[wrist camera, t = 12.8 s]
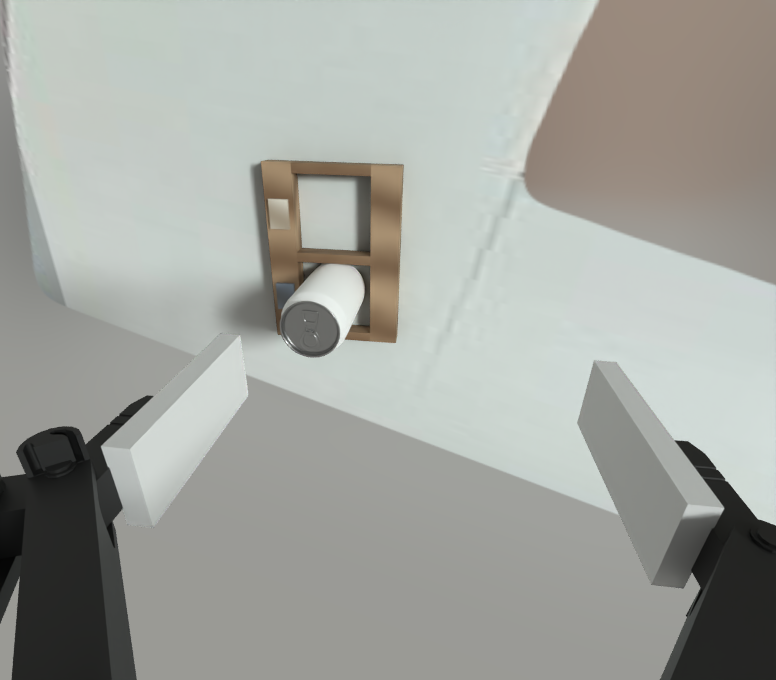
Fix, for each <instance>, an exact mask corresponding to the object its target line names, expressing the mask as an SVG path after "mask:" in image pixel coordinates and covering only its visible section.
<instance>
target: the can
mask: <svg viewBox="0 0 776 680" xmlns="http://www.w3.org/2000/svg"><path fill="white" fill-rule="evenodd" d="M364 295H365V284H364V281H363V278H362V276H361V275H360V273H359V272H358V271H357V270H356V269H355V268H354V267H353V266H351V265H348V264H330V263H323V264H321V265H320V266H319V267H317V268H316V269H315V270H314V271H313V272H312V274H311V275H310V276H309V277H308V278H307V279H306V280H305V281H304V282H303V283H302V285H301V286H300V287H299V288H298V289H297V290H296V291H295V292H294V294H293V295H292V296H291V297H290V298H289V299H288V301H287V302H286V304H285V305H284V307H283V310H282V314H281V319H280V332H281V335H282V338H283V340H284V341H285V343H286V344H287V345H288V346H289V347H290V348H291V349H292V350H293V351H295V352H296V353H298V354H300V355H303V356H306V357H321V356H325V355H327V354H329V353H330V352H331V351H333V350H334V349H336V348H337V347H338V346H340V345H341V343H342V342H343V341H344V339H345V338H346V336H347V334H348V332H349V330H350V327H351V325H352V323H353V321H354V319H355V317H356V315H357V312H358V310H359V308H360V306H361V304H362V301H363V299H364Z"/></svg>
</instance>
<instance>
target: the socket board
mask: <svg viewBox="0 0 776 680" xmlns="http://www.w3.org/2000/svg"><path fill="white" fill-rule="evenodd" d="M403 167H404V165H398V164H370V163H341V162H313V161H284V160H265V161H261V168H262V178H263V188H264V199H265V209H266V219H267V230H268V240H269V250H270V261H271V271H272V281H273V292H274V302H275V312H276V323H277V333H278V335H281V332H280V319H281V314H282V310H283V307H284V305H285V304H286V302H287V301H288V299H289V298H290V297H291V296H292V295H293V294H294V292H295V291H296V290H297V289H298V288H299V287H300V286H301V285H302V283H303V282H304V272H303V262H312V263H330V264H348V265H366V266H370V326H361V325H351V327H350V330H349V332H348V334H347V336H346V338H345V339H346V340H360V341H374V342H388V343H396V339H397V327H398V300H399V274H400V247H401V220H402V194H403ZM297 173H299V174H325V175H352V176H371V247H370V252H369V251H350V250H331V249H312V248H302V240H301V225H300V209H299V193H298V177H297Z"/></svg>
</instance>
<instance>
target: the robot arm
mask: <svg viewBox="0 0 776 680" xmlns="http://www.w3.org/2000/svg"><path fill="white" fill-rule="evenodd" d="M247 396H248V388H247V381H246V374H245V367H244V359H243V352H242V345H241V338H240V335H237V334H223V333H221V334H220V335H219V336H218V337H217V338H215V339H214V340H213V341H212V342H211V343H210V344H209V345H208V346H207V347H206V348H205V349H204V350H203V351H202V352H201V353H200V354H198V355H197V356H196V357H195V358H194V359H193V360H192V361H191V362H190V363H189V364H188V365H187V366H186V367H185V368H184V369H183V370H181V371H180V372H179V373H178V374H177V375H176V376H175V377H174V378H173V379H172V380H171V381H170V382H169V383H168V384H167V385H166V386H164V387H163V388H162V389H161V390H160V391H159V392H158V393H157V394H156V395H155V396H145V397H143V398H141V399H140V400H138V401H136V402H134V403H132V404H130V405H129V406H128V407H127V408H126V409H125V410H124V411H123V412H121V413H120V415H119V416H117V417H116V418H115V419H114V420H112V421H111V422H110V425H107V426H106V427H105V428H104V429H102V431H100V432H99V433H98V434H97V435H96V436H95V437H93V439H91V440H90V441H89V442H88V443H87V444H86V445H85V442H84V440H83V437H82V434H81V432H80V431H79V429H77V428H74V427H57V428H51V429H48V430H46V431H43V432H40V433H37V434H36V435H34V436H32V437H30V438H28V439H27V440H26V441H24V442H23V443H22V444H21V445H20V446H19V448H18V450H17V452H16V453H17V455H18V457H19V460H20V462H21V464H22V467H23V469H24V471H25V473H26V474H23V475H16V476H8V477H1V475H0V623H1V620H2V618H3V615H4V613H5V611H6V608H7V606H8V603H9V601H10V598H11V596H12V593H13V591H14V588H15V586H16V583H17V581H18V579H19V577H20V582H19V594H18V607H17V619H16V633H15V644H14V657H13V669H12V680H137V679H136V671H135V664H134V658H133V650H132V643H131V636H130V629H129V622H128V615H127V608H126V601H125V594H124V586H123V579H122V573H121V566H120V558H119V551H118V544H117V537H116V530H115V527H114V524H113V520H114V518H115V517H116V516H117V515H118V514H119V512H120V511H121V510H123V513H124V516H125V519H126V522H127V525H134V526H143V527H151V528H154V526H155V525H156V523H157V522H158V521H159V519H160V518H161V516H162V515H163V514H164V512H165V511H166V509H167V508H168V507H169V505H170V504H171V503H172V501H173V500H174V498H175V497H176V496H177V494H178V493H179V491H180V490H181V489H182V487H183V486H184V484H185V483H186V482H187V480H188V479H189V477H190V476H191V475H192V473H193V472H194V470H195V469H196V468H197V466H198V465H199V463H200V462H201V461H202V459H203V458H204V456H205V455H206V453H207V452H208V451H209V449H210V448H211V446H212V445H213V444H214V443H215V441H216V440H217V438H218V437H219V435H220V434H221V433H222V431H223V429H225V427H226V426H227V424H228V423H229V422H230V420H231V419H232V417H233V416H234V415H235V413H236V412H237V410H238V409H239V407H240V406H241V405H242V403H243V402H244V401H245V399H246V398H247ZM577 424H578V426H579V428H580V430H581V432H582V435H583V437H584V439H585V441H586V443H587V445H588V448H589V450H590V452H591V454H592V456H593V459H594V461H595V463H596V465H597V467H598V469H599V472H600V474H601V476H602V478H603V480H604V483H605V485H606V487H607V489H608V491H609V493H610V496H611V498H612V500H613V502H614V504H615V507H616V509H617V511H618V513H619V515H620V517H621V520H622V522H623V524H624V526H625V528H626V530H627V533H628V535H629V537H630V539H631V541H632V544H633V546H634V548H635V550H636V552H637V554H638V557H639V559H640V561H641V563H642V566H643V568H644V570H645V572H646V574H647V576H648V579H649V581H650V583H651V585H658V586H667V587H675V588H684V587H685V585H686V583H687V581H688V579H689V577H690V575H691V573H693V574H694V576H695V578H696V580H697V582H698V583H699V585H700V587H701V588H700V590H699V592H698V594H697V596H696V598H695V600H694V602H693V603H692V605H691V607H690V609H689V611H688V613H687V615H686V616H687V619H686V621H685V624H684V626H683V628H682V630H681V633H680V635H679V637H678V640H677V642H676V644H675V647H674V649H673V651H672V653H671V656H670V658H669V661H668V663H667V665H666V667H665V670H664V672H663V674H662V677H661V679H660V680H776V526H775V525H773V524H770V523H767V522H765V521H762V520H758V519H757V518H756V517H755V515H754V514H753V513H752V512H751V510H750V509H749V508H748V507H747V505H746V504H745V503H744V502H743V500H742V499H741V498H740V497H739V495H738V494H737V493H736V492H735V490H734V489H733V488H732V487H731V485H730V484H729V483H728V482H726V481H725V478H724V477H723V476H722V474H721V473H720V472H719V471H718V470H716V467H715V466H714V464H713V463H712V462H711V461H710V459H709V458H708V457H707V456H706V454H704V453H703V452H702V451H700V450H699V449H698V448H696V447H695V446H694V445H692V444H691V443H690V442H688V441H676V440H674V439H673V438H672V437H671V435H670V434H669V432H668V431H667V430H666V428H665V427H664V426H663V424H662V423H661V422H660V420H659V419H658V418H657V416H656V415H655V414H654V412H653V411H652V410H651V408H650V407H649V405H648V404H647V403H646V401H645V400H644V399H643V397H642V396H641V395H640V393H639V392H638V391H637V389H636V388H635V387H634V385H633V384H632V383H631V381H630V380H629V379H628V377H627V376H626V374H625V373H624V372H623V370H622V369H621V368H620V366H619V365H618V364H617V362H607V361H594V363H593V367H592V370H591V374H590V378H589V382H588V385H587V389H586V393H585V396H584V400H583V404H582V408H581V411H580V415H579V419H578V422H577Z"/></svg>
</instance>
